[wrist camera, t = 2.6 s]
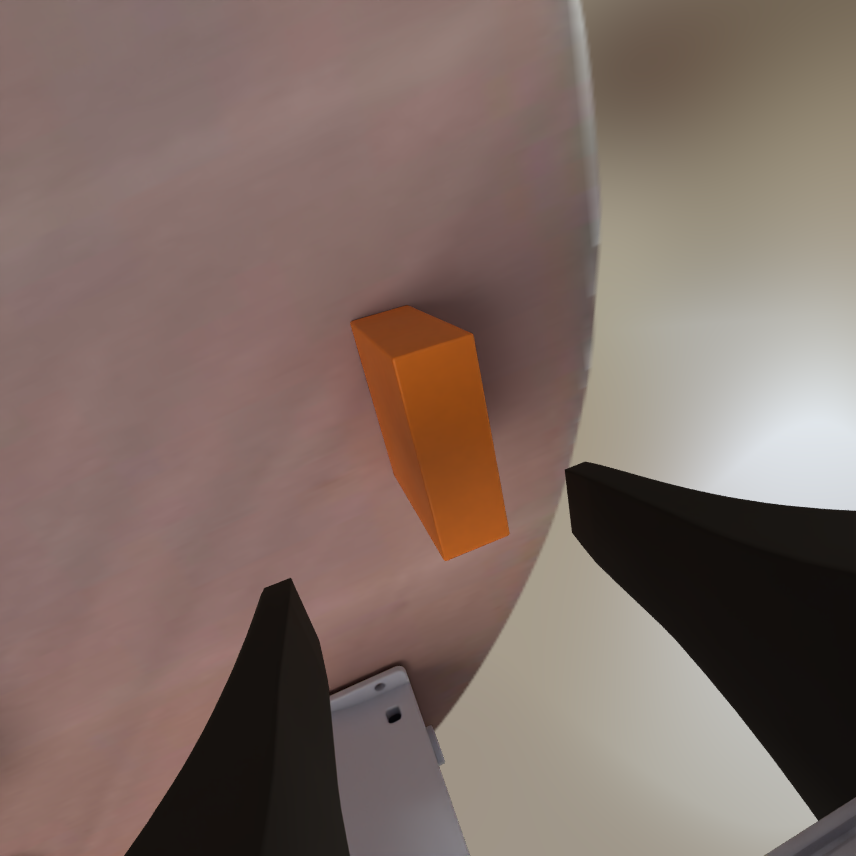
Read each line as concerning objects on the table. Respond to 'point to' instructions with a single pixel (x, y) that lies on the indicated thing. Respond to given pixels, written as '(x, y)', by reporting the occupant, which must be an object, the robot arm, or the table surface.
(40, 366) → the table surface
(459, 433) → the block
